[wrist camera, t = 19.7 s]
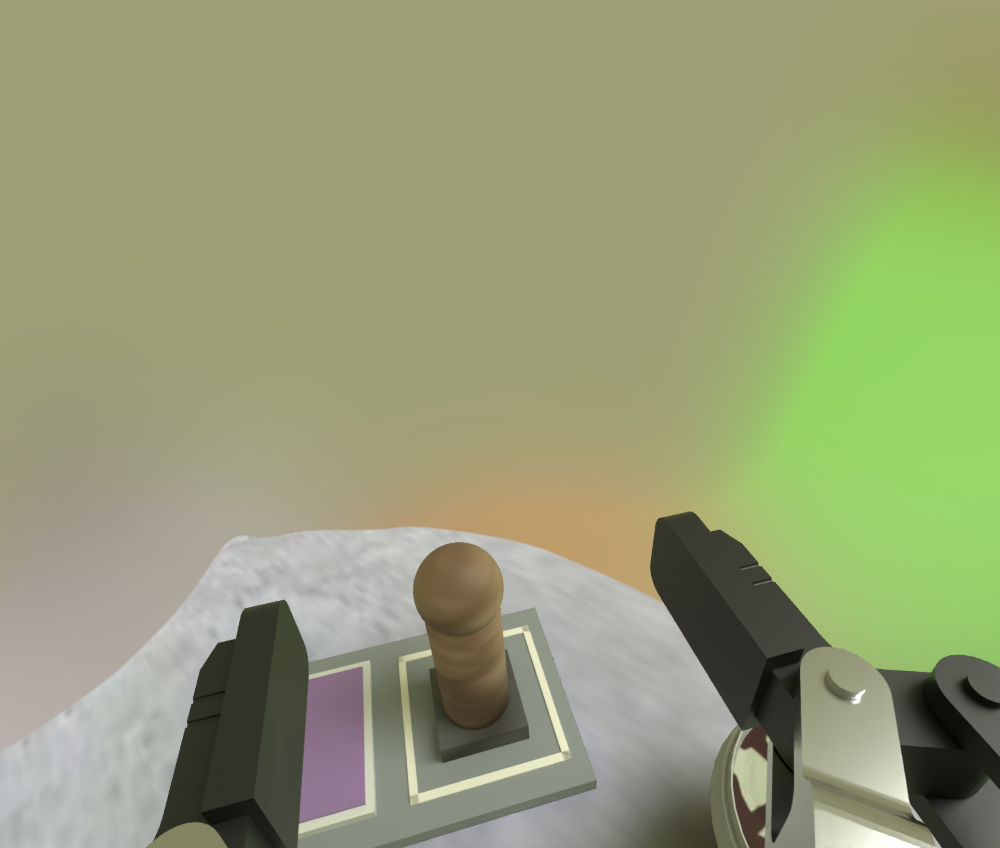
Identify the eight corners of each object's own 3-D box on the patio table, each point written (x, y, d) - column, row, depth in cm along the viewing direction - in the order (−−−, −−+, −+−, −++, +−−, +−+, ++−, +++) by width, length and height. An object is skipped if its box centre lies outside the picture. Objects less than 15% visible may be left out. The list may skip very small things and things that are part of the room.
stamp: (443, 763, 34) (405, 611, 26) (431, 681, 38) (396, 532, 30) (529, 738, 34) (518, 584, 27) (508, 661, 39) (493, 511, 31)
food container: (745, 733, 35) (777, 636, 29) (852, 805, 31) (911, 709, 26) (645, 920, 28) (664, 836, 22) (769, 1042, 24) (828, 978, 18)
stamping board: (175, 916, 29) (161, 904, 28) (222, 692, 40) (213, 678, 39) (596, 787, 33) (596, 773, 32) (535, 615, 43) (534, 600, 43)
